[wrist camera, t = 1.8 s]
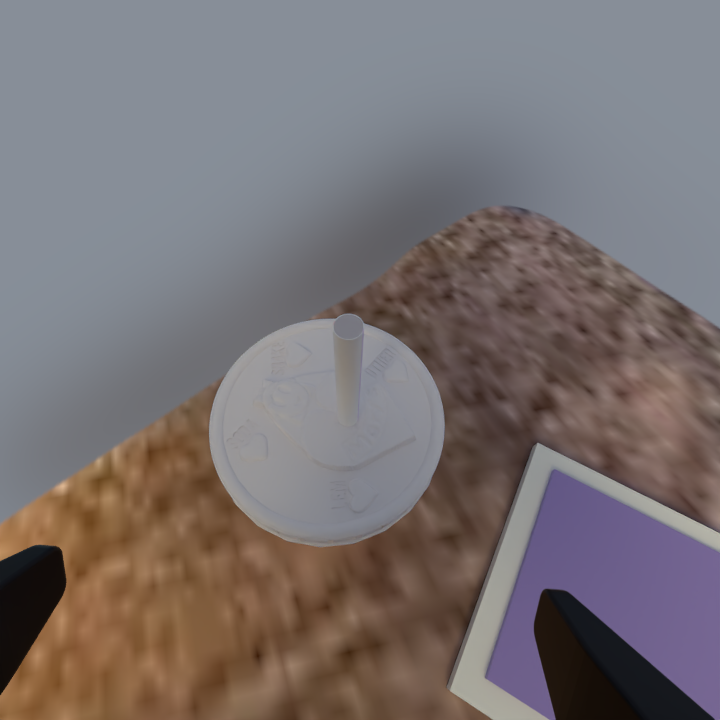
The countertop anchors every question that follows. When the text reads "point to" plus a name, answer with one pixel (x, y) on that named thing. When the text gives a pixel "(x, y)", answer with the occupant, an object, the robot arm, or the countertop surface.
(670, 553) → the ink pad
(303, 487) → the smoothie
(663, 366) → the countertop surface
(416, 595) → the countertop surface
